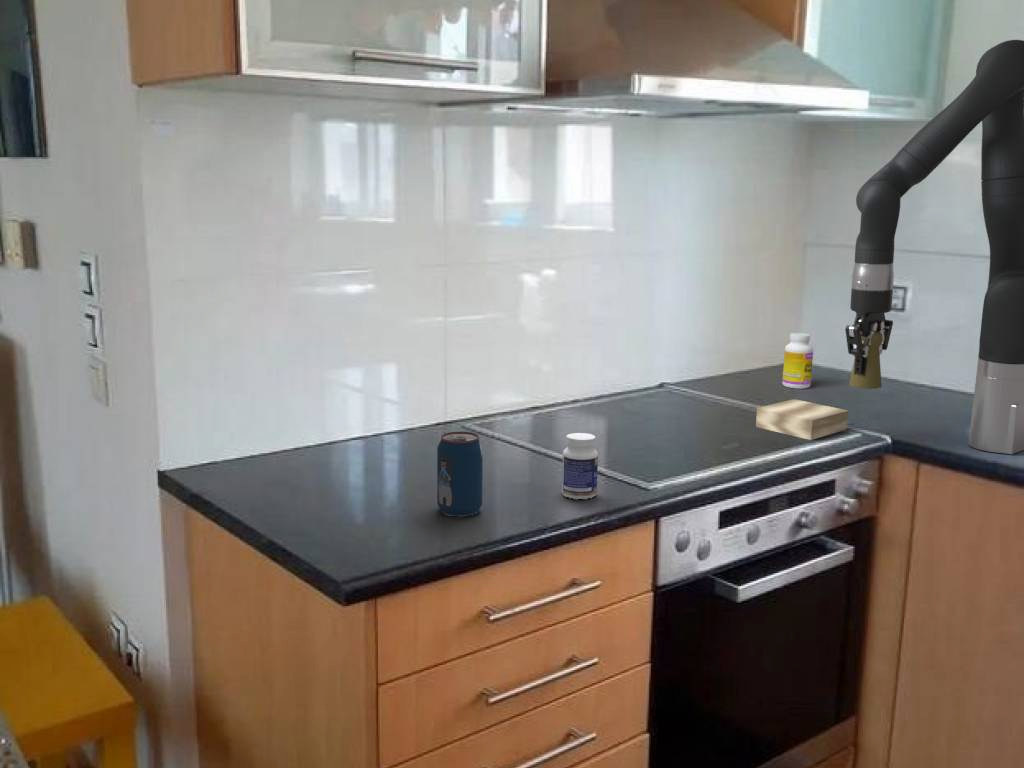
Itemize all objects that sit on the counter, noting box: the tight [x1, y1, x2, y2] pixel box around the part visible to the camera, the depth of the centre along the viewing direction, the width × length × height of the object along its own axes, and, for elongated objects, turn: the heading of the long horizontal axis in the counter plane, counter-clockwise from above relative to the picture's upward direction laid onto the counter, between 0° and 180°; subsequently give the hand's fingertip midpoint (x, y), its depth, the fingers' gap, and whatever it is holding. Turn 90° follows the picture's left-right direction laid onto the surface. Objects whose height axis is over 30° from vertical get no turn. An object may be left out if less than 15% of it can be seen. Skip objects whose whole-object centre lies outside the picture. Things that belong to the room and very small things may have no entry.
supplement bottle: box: [782, 332, 814, 390], centre depth 251 cm, size 7×7×13 cm
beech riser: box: [755, 398, 849, 441], centre depth 212 cm, size 13×13×4 cm
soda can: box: [436, 431, 484, 517], centre depth 159 cm, size 7×7×12 cm
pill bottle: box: [561, 432, 599, 500], centre depth 168 cm, size 6×6×10 cm
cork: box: [848, 331, 883, 390], centre depth 202 cm, size 6×6×11 cm
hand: (866, 373), depth 202 cm, fingers closed on cork, 4 cm apart
